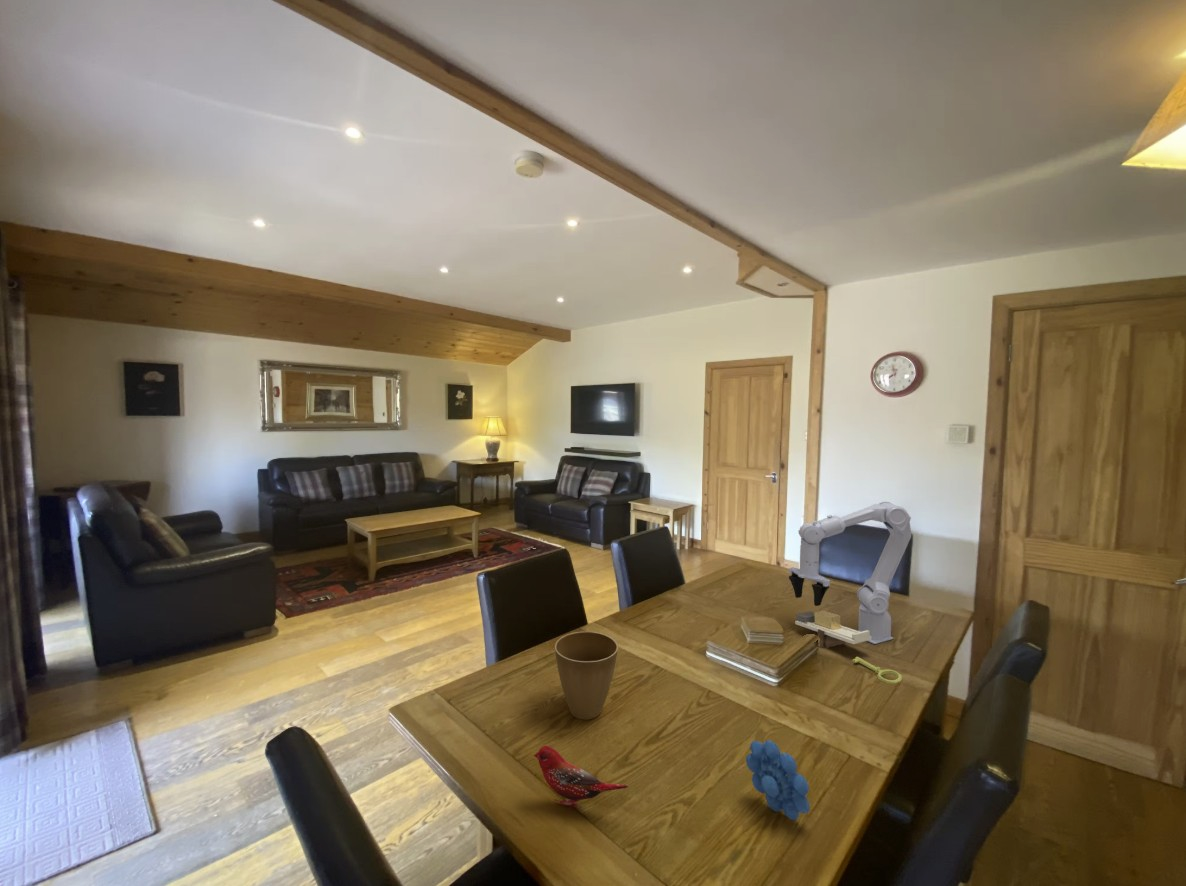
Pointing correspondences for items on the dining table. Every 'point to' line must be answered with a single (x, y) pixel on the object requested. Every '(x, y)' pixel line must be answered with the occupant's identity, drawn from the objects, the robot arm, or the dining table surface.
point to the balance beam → (841, 634)
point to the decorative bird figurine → (570, 778)
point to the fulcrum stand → (828, 639)
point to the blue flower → (778, 779)
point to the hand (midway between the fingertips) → (807, 601)
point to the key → (880, 671)
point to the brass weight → (827, 620)
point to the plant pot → (586, 671)
